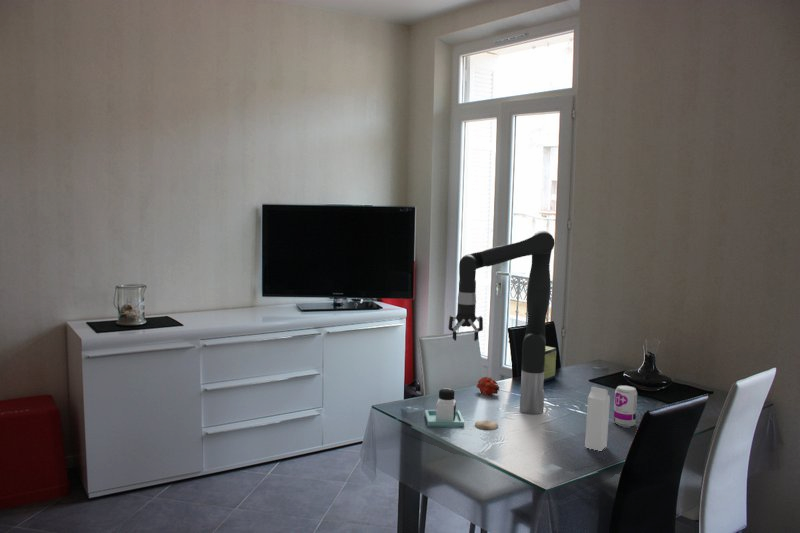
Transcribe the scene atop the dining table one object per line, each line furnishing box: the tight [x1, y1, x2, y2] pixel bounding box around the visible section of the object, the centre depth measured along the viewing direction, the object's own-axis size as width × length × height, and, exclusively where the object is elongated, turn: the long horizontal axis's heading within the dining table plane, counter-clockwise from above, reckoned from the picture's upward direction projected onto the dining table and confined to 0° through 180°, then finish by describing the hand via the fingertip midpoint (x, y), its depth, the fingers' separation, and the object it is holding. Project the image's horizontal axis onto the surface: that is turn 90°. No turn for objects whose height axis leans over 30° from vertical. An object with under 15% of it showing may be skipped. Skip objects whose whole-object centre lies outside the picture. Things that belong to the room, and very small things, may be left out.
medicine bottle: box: [435, 388, 457, 421], centre depth 261 cm, size 7×7×12 cm
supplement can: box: [613, 384, 638, 427], centre depth 263 cm, size 8×8×15 cm
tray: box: [424, 409, 465, 428], centre depth 262 cm, size 14×14×2 cm
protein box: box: [544, 345, 557, 383], centre depth 326 cm, size 10×16×16 cm
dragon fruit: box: [476, 376, 500, 397], centre depth 298 cm, size 8×8×12 cm
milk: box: [584, 386, 611, 452], centre depth 237 cm, size 6×6×22 cm
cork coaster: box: [474, 420, 499, 431], centre depth 257 cm, size 9×9×1 cm
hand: (465, 340), depth 279 cm, fingers open, 8 cm apart
